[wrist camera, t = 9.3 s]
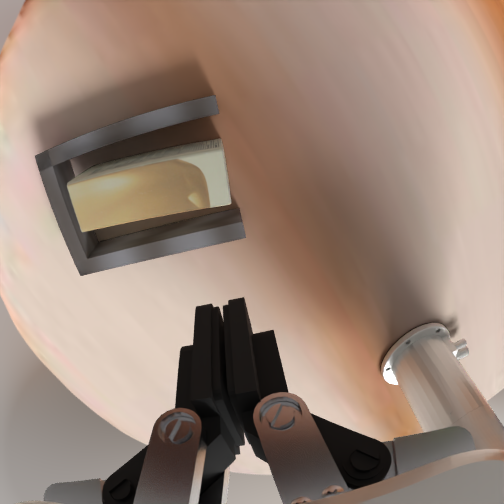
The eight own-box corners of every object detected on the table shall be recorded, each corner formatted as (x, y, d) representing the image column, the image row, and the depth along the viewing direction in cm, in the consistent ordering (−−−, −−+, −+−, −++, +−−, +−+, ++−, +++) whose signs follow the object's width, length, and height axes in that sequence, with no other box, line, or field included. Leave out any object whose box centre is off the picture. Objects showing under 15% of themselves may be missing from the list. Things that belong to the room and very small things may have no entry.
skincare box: (230, 183, 28) (105, 207, 28) (223, 136, 26) (93, 164, 26) (232, 207, 22) (79, 235, 22) (223, 147, 20) (63, 183, 20)
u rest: (215, 95, 24) (215, 95, 21) (242, 222, 30) (246, 237, 27) (52, 148, 24) (34, 155, 21) (91, 258, 30) (80, 275, 27)
